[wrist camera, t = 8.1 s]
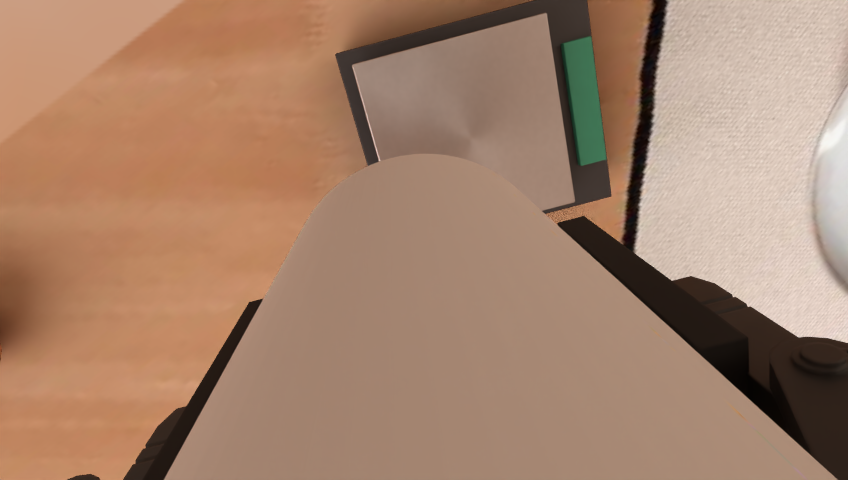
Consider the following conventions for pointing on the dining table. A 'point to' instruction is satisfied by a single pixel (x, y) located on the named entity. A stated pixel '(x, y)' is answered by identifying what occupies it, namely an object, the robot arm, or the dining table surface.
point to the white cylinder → (466, 355)
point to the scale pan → (476, 106)
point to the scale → (573, 76)
